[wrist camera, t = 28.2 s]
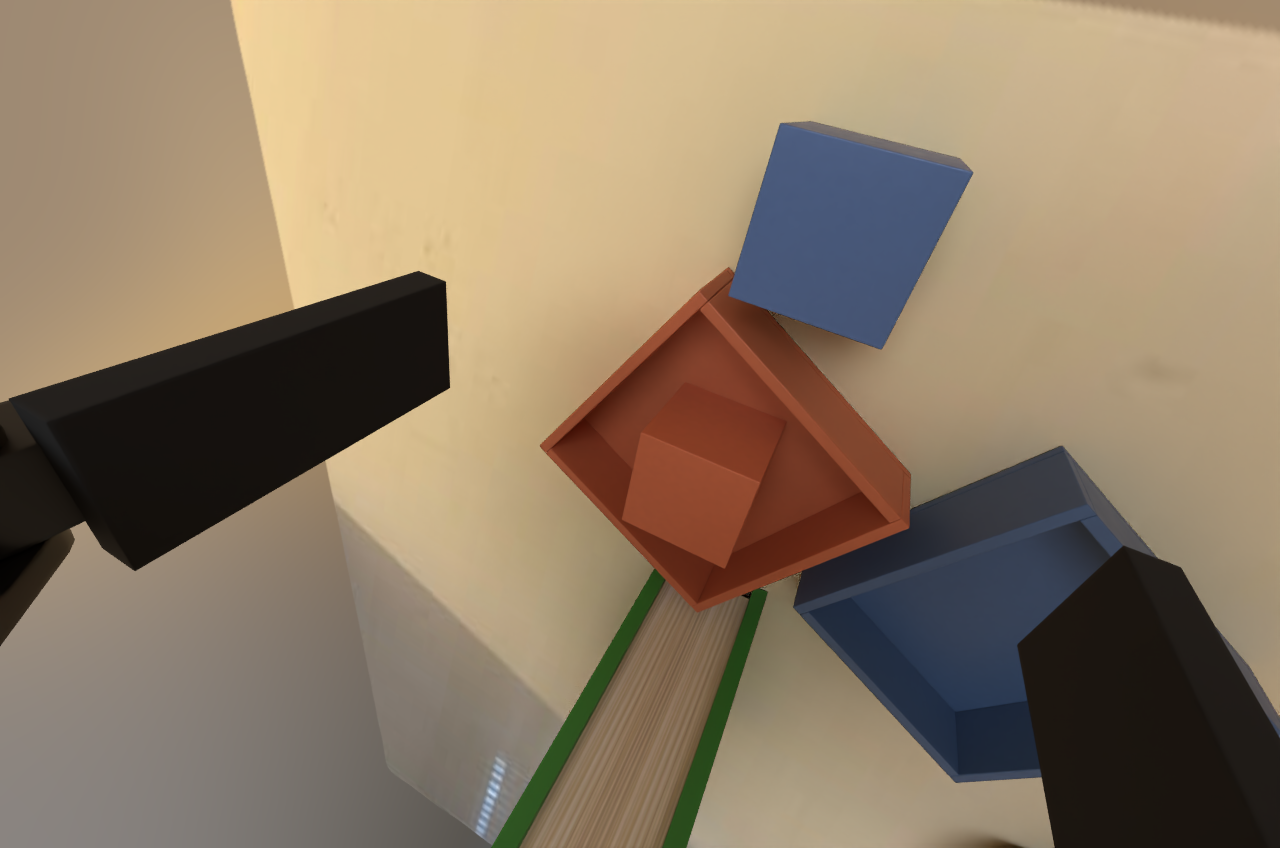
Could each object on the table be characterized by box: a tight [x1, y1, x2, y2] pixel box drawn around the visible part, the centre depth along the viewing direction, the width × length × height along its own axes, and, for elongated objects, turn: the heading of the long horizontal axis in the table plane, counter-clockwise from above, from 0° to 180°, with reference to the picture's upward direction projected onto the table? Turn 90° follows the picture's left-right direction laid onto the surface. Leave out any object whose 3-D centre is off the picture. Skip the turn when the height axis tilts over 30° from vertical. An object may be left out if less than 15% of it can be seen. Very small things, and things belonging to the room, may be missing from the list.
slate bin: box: [793, 446, 1280, 783], centre depth 26 cm, size 14×14×4 cm
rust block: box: [622, 382, 787, 569], centre depth 28 cm, size 6×6×6 cm
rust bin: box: [540, 267, 911, 613], centre depth 29 cm, size 14×14×4 cm
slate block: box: [728, 121, 973, 349], centre depth 20 cm, size 6×6×6 cm
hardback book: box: [491, 569, 768, 848], centre depth 31 cm, size 18×7×24 cm, turn 168°
